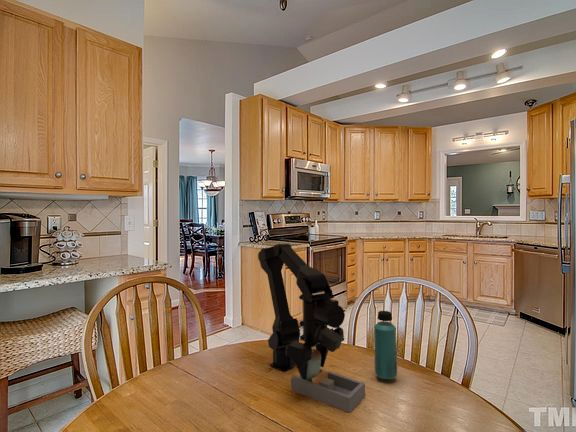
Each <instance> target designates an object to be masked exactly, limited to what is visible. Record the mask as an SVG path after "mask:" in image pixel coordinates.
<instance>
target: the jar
mask: <svg viewBox="0 0 576 432" xmlns="http://www.w3.org/2000/svg"><path fill="white" fill-rule="evenodd" d="M311 349H312V354H311V357H312V358H311V359H310V360H309V361H308V368H307V378H306V380H307V381H310V382H312V378H313V377H315V376H316V375H318V374H319V373H320V369H321V367H320V365H321V353H320V352H319V351H318V350H316V348H311ZM298 378H301V379H302V377H301V375H300V374H299V377H298Z"/></svg>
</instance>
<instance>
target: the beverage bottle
mask: <svg viewBox="0 0 576 432" xmlns="http://www.w3.org/2000/svg"><path fill="white" fill-rule="evenodd" d="M377 320H379V321H378V322H376V323H375V324H374V326H373V327H374V344H373V345H374V373H375V375H376V376H377V377H379V378H380V379H384V380H394V379H395V378H396V377H397V375H398V360H397V359H398V355H397V353H398V352H397V351H398V350H397V327H396V326H395V325H394V323H392V322H390V321H392V320H393V316H392V312H391V311H387V310H379V311H378V312H377Z"/></svg>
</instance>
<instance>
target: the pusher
mask: <svg viewBox="0 0 576 432" xmlns="http://www.w3.org/2000/svg"><path fill="white" fill-rule="evenodd" d="M328 371H329V370H326V369H323V371H322V372H320V373H319V374H318V375H316V376H315V377H313V378H312V383H315V384H318V385H321V386H324V387H326V388H329V389H333V388H334V380H331V379H328Z"/></svg>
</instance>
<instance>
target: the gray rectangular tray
mask: <svg viewBox="0 0 576 432" xmlns="http://www.w3.org/2000/svg"><path fill="white" fill-rule="evenodd" d="M323 370H324V369H323V368H320V372H322V371H323ZM327 371H328V379H331V380H334V388H333V389H329V388H326V387H324V386H321V385H318V384H315V383H312V382H310V381H307V380H304V379H301V378H299V377H298V376H295V375H292V376H291V377H290V390H291V391H293V392H296V393H298V394H300V395H303V396H306V397H309V398H310V399H313V400H316V401H318V402H320V403H324V404H326V405H329V406H331V407H334V408H336V409H339V410H342V411H344V412H347V413H349V414H351V412H352V411H353V410H354V409H356V407H357V406H358V405H359V404H360V402H361V401H362V400H363V399H365V397H366V382H363V381H360V380H357V379H355V378H351V377H348V376H344V375H343V374H342V375H341V374H339V373H335V372H332V371H329V370H327Z"/></svg>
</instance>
